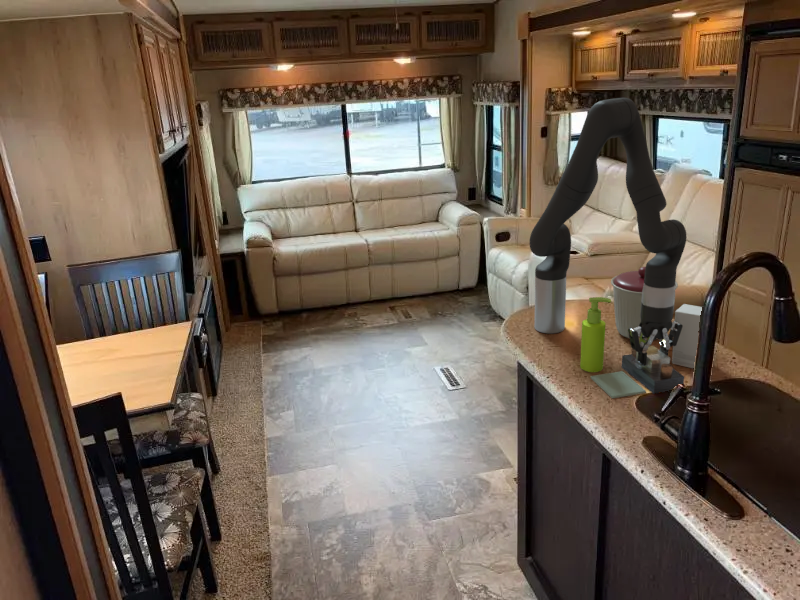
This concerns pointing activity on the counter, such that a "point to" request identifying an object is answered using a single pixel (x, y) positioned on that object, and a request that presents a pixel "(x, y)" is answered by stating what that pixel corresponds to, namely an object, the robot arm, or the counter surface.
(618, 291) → the canister
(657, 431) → the counter surface
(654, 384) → the hand plane
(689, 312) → the skincare box
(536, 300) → the robot arm
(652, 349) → the lever cap
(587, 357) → the soap dispenser
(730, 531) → the counter surface
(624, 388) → the rubber mat
